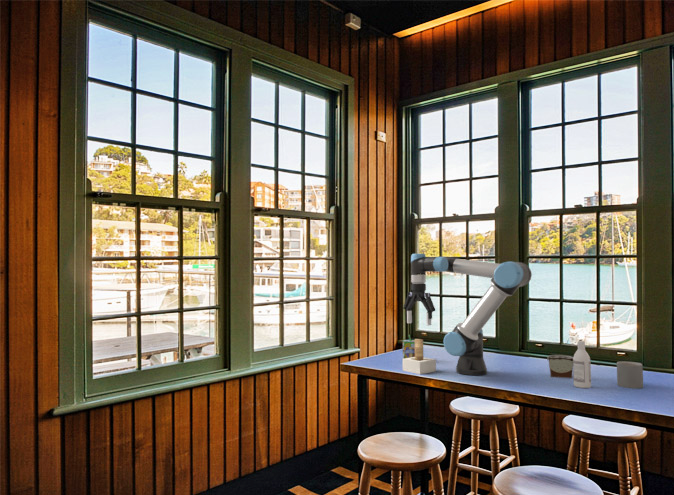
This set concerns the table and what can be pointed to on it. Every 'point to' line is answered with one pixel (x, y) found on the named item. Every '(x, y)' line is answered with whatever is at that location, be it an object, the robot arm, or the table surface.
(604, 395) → the table surface
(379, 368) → the table surface
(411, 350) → the juice carton
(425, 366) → the socket block
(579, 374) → the bath foam
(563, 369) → the food container
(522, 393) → the table surface
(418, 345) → the oak peg
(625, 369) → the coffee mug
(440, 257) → the robot arm
